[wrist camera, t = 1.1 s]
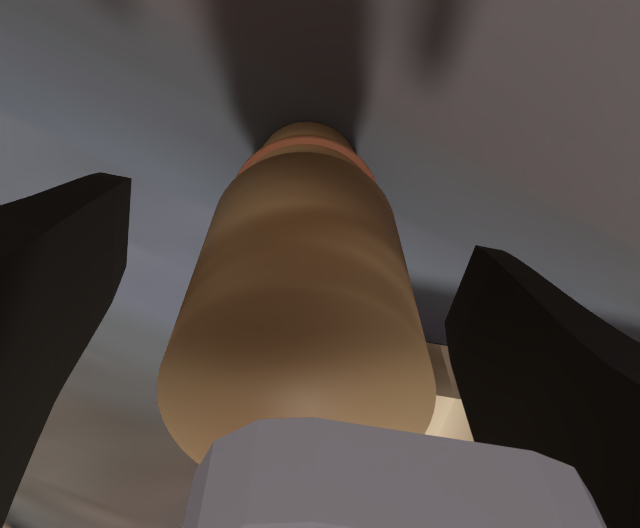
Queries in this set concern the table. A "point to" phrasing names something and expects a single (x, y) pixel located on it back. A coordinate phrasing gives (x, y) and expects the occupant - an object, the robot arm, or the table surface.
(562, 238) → the table surface
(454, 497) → the robot arm
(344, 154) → the oak peg
